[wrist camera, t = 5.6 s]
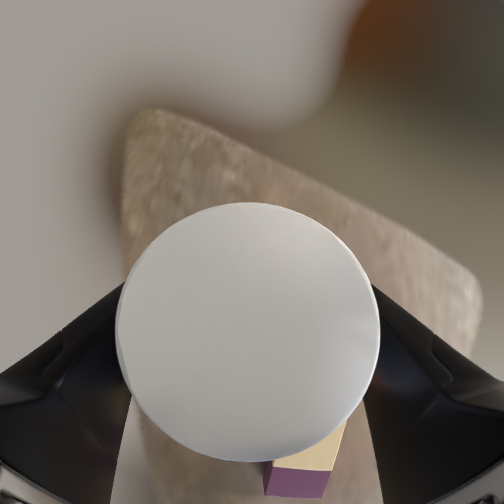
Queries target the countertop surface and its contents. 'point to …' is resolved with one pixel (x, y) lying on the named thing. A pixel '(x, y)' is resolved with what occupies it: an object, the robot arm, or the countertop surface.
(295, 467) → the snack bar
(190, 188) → the countertop surface
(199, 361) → the pill bottle
